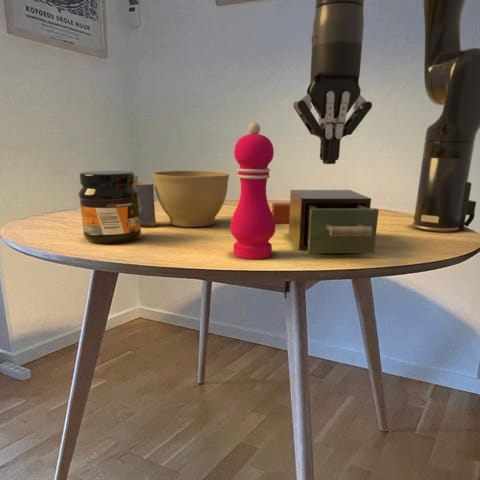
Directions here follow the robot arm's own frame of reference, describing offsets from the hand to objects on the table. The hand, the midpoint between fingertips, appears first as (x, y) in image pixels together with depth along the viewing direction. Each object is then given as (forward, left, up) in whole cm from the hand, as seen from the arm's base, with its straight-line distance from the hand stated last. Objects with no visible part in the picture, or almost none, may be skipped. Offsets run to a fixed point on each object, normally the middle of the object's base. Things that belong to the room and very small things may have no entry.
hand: (329, 163), depth 77 cm
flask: (+36, -22, -14) cm, 45 cm away
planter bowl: (+24, -23, -14) cm, 37 cm away
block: (+4, -26, -14) cm, 30 cm away
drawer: (-1, +5, -13) cm, 14 cm away
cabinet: (-1, -4, -14) cm, 15 cm away
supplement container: (+38, -7, -14) cm, 42 cm away
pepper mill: (+13, +6, -14) cm, 20 cm away
